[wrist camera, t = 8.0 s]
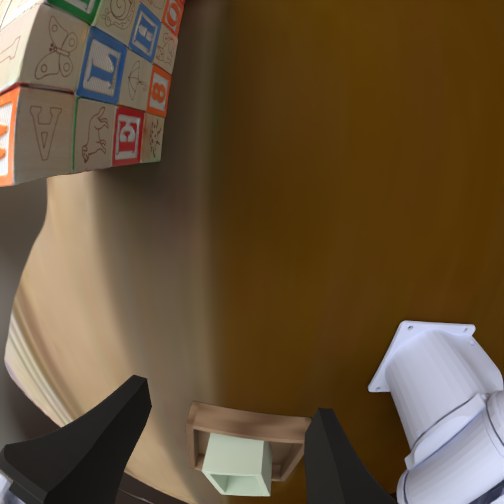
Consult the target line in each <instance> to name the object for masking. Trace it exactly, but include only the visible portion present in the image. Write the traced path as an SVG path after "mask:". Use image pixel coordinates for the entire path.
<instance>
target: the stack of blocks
mask: <svg viewBox="0 0 504 504" xmlns="http://www.w3.org/2000/svg"><path fill="white" fill-rule="evenodd" d="M184 3H185V0H0V187H1V186H2V187H3V186H11V185H16V184H21V183H25V182H29V181H34V180H38V179H42V178H47V177H52V176H57V175H69V174H77V173H81V172H84V171H92V170H99V169H105V168H109V167H115V166H122V165H129V164H136V163H148V162H158V161H160V160H161V148H162V138H163V128H164V119H165V117H166V112H167V104H168V97H169V89H170V83H171V75H172V71H173V66H174V60H175V55H176V49H177V44H178V38H177V35H178V33H179V27H180V23H181V18H182V14H183V10H184Z"/></svg>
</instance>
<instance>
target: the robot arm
mask: <svg viewBox="0 0 504 504" xmlns="http://www.w3.org/2000/svg"><path fill="white" fill-rule="evenodd" d="M409 326H411V327H410V328H408V327H409ZM474 331H475V326H474V325H472V324H451V323H434V322H419V321H403V322H402V323H400V325H399V327H398V329H397V331H396V334H395V336H394V338H393V340H392V342H391V344H390V346H389V348H388V350H387V352H386V354H385V356H384V358H383V360H382V362H381V364H380V366H379V368H378V370H377V372H376V373H375V375H374V377H373V379H372V381H371V382H370V384H369V386H368V390H369V391H370V392H391V395H392V397H393V400H394V403H395V405H396V408H397V411H398V414H399V416H400V419H401V422H402V425H403V428H404V431H405V434H406V437H407V440H408V443H409V446H410V449H411V453H410V454H409V455H408V456H407V457H406V458H405V462H406V466H407V469H406V470H405V471H404V472H403V474H402V475H401V477H400V479H399V482H398V485H397V500H398V502H397V501H395V500H394V499H393V498H392V497H391V496H390V495H389V494H388V493H387V492H386V491H385V490H384V489H383V488H382V487H381V486H380V485H379V484H378V483H377V481H376V480H375V479H374V478H373V476H372V475H371V474H370V473H369V471H368V470H367V469H366V467H365V466H364V464H363V463H362V461H361V460H360V458H359V457H358V455H357V454H356V452H355V450H354V449H353V447H352V445H351V444H350V442H349V440H348V438H347V436H346V435H345V433H344V431H343V429H342V427H341V425H340V423H339V421H338V419H337V417H336V415H335V413H334V411H333V409H324V408H318V410H317V412H316V414H315V415H314V417H313V419H312V421H311V423H310V425H309V427H308V428H307V430H306V432H305V441H304V460H305V472H306V485H307V504H504V390H503V379H502V376H501V373H500V371H499V369H498V368H497V367H496V365H495V364H494V363H493V361H492V360H491V359H490V358H489V356H488V355H487V354H486V353H485V351H484V350H483V349H482V348H481V346H480V345H479V344H478V343H477V342H476V340H475V339H474V338H473V337H472V335H473V333H474ZM377 387H378V388H377ZM151 407H152V405H151V399H150V394H149V389H148V383H147V379H146V378H143V377H140V376H137V375H132V376H131V377H130V378H129V379H128V380H127V381H126V382H125V383H123V384H122V385H121V386H120V387H119V388H118V389H117V390H115V391H114V392H113V393H112V394H111V395H110V396H108V397H107V398H106V399H104V400H103V401H102V402H101V403H99V404H98V405H97V406H96V407H94V408H93V409H91V410H90V411H88V412H87V413H86V414H84V415H83V416H81V417H79V418H78V419H76V420H75V421H73V422H71V423H69V424H67V425H66V426H64V427H62V428H60V429H57V430H55V431H53V432H51V433H49V434H46V435H43V436H40V437H37V438H34V439H31V440H27V441H23V442H18V443H13V444H7V445H6V446H4V448H3V449H2V451H1V452H0V469H1V470H2V471H3V472H4V473H5V474H6V475H8V477H10V478H11V479H12V480H13V482H12V481H10V480H9V479H7V478H6V477H5V476H4V475H3V474H2V473H0V504H114V503H115V498H116V495H117V491H118V488H119V485H120V481H121V478H122V475H123V472H124V469H125V467H126V464H127V462H128V460H129V458H130V456H131V454H132V452H133V450H134V448H135V446H136V443H137V441H138V439H139V437H140V435H141V433H142V431H143V429H144V427H145V425H146V422H147V419H148V417H149V413H150V410H151Z"/></svg>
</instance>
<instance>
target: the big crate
mask: <svg viewBox="0 0 504 504" xmlns="http://www.w3.org/2000/svg"><path fill="white" fill-rule="evenodd" d="M310 423H311V417H295V416H283V415H273V414H264V413H256V412H249V411H242V410H236V409H230V408H224V407H219V406H214V405H209V404H204V403H200V402H195V401H193V403H192V406H191V409H190V412H189V415H188V418H187V421H186V434H187V446H188V457H189V467H190V468H191V469H195V470H200V471H202V467H203V463H204V459H205V455H206V451H207V447H208V442H209V438H210V434H211V433H216V434H221V435H227V436H233V437H239V438H246V439H253V440H262V441H269V444H270V448H271V452H272V473H271V481H285V480H286V479H287V477H288V476H289V475H290V473H291V472H292V470H293V469H294V468H295V466H296V465H297V463H298V462H299V461H300V459H301V458H302V456H303V455H304V441H305V432H306V430H307V428H308V427H309V425H310Z"/></svg>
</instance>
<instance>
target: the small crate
mask: <svg viewBox="0 0 504 504" xmlns="http://www.w3.org/2000/svg"><path fill="white" fill-rule="evenodd" d="M202 472H203V473H204V474H205V476H206V477H207V478H208V479H209V480H210V482H211V483H212V484H213V485H214V486H215V488H216V489H217V490H218V491H219V492H220V493H221V494H226V495H241V496H270V489H271V473H272V452H271V448H270V444H269V441H262V440H253V439H246V438H239V437H233V436H227V435H221V434H216V433H211V434H210V438H209V442H208V447H207V451H206V455H205V459H204V463H203V467H202Z"/></svg>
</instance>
